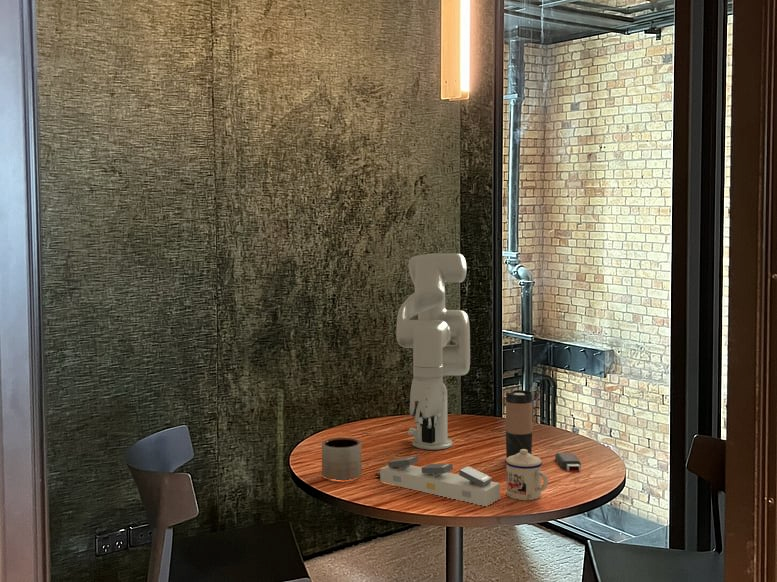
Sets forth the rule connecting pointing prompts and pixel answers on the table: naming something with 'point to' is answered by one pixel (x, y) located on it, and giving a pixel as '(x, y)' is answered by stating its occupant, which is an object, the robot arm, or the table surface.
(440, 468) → the rocker middle
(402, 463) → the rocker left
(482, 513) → the table surface
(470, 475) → the rocker right
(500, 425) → the table surface
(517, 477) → the teacup with lid
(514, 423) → the travel mug
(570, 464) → the usb drive
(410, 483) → the power strip
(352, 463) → the planter
